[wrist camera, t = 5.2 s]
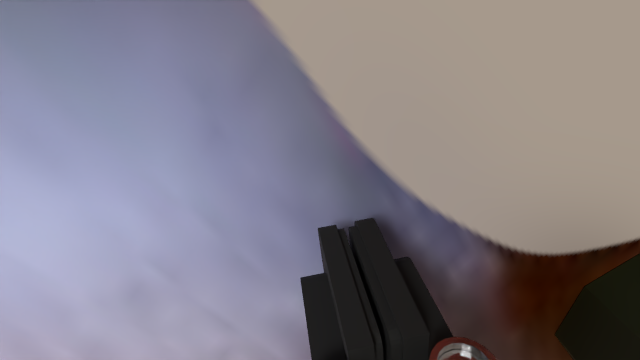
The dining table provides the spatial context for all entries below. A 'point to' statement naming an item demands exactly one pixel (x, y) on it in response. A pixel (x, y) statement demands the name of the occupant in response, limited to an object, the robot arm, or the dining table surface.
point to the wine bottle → (606, 317)
